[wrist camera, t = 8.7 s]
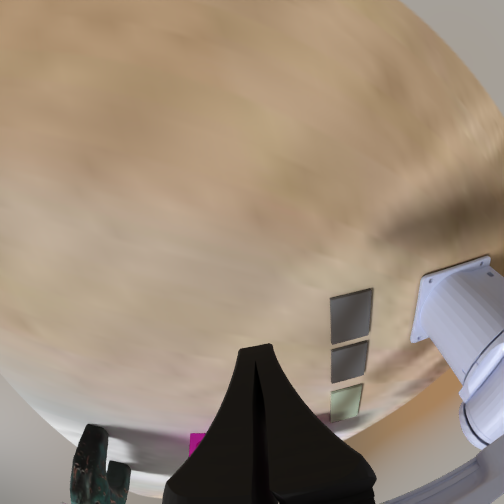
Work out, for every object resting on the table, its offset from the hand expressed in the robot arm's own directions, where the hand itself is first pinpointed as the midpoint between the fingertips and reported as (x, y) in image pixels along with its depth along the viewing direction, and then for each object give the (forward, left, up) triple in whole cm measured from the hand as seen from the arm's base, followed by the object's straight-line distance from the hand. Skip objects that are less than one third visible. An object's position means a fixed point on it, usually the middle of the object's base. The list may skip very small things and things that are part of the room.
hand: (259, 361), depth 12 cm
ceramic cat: (+29, +30, -10) cm, 43 cm away
